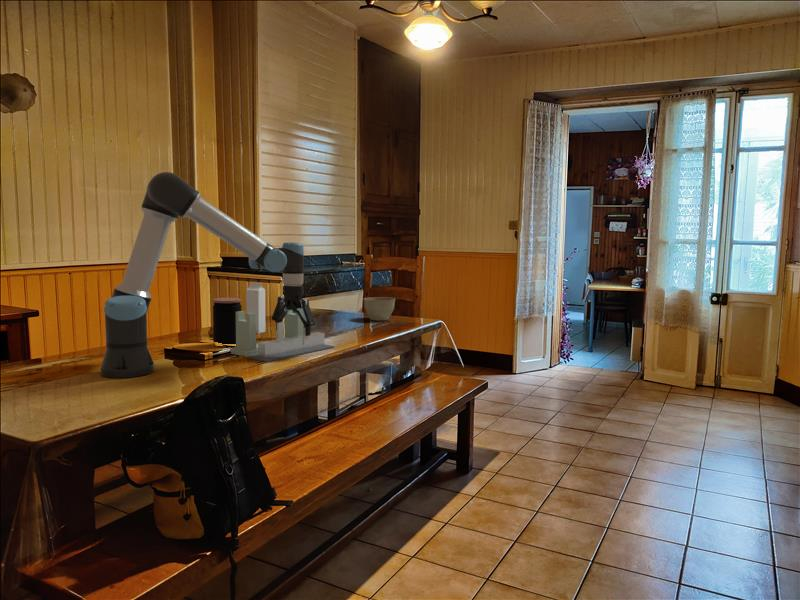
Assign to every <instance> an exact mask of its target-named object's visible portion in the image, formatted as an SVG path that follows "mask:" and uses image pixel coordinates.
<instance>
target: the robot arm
mask: <svg viewBox="0 0 800 600" xmlns="http://www.w3.org/2000/svg"><path fill="white" fill-rule="evenodd" d="M140 208H141V211H142V212H143V218H142V220H141V222H140V226H139V230H138V233H137V236H136V238H135V241H134V244H133V246H132V247H133V248H132V250H131V254H130V257H129V261H128V263H127V266H126V270H125V272H124V275H123V278H122V281H121V283H120V284H118V285H117V286H115V287H114V289H113V293H112V296H111V297H110V298H109V297H108V298H107V299H106V300H105V302H104V306H103V307H104V308H103V312H104V319H105V320H104V322H105V323H104V324H105V345H106V346H105V347H106V348H105V349H106V350H105V352H104V355H103V360H102V363H101V366H100V375H101V377H102V376H103V377H105V378H112V379H113V378H114V379H116V378H117V379H123V378H125V379H126V378H136V377H141V376H142V377H143V376H146V375H149V374H152V373H153V372H154V371H155V364H154V360H153V358H152V355H151V354H150V350H149V348H148V347H149V346H148V325H147V322H148V319H147V314H148V311H149V308H150V304H151V301H152V295H151V293H150V289H151V286H152V282H153V280H154V277H155V274H156V270H157V266H158V264H159V261H160V258H161V255H162V252H163V249H164V245H165V243H166V241H167V236H168V233H169V231H170V227H171V224H172V223H174V222H176V221H178V218H179V216H180V217H181V218H189V220H192V222H195V223H196V224H197V225H199V226H201V227H202V228H204V229H205V230H207V231H208V232H210V233H212V234H213V235H215V237H217V238H219V239H220V240H222V241H223V242H225V243H227V244H228V245H230V246H231V247H232V248H234V249H235V250H237V251H239V252H240V253H242V254H243V255H245V256H247V257H248V265H249V267H250V269H252V270H253V269H256V270H261V269H262V270H267V271H269V272H270V273H277V272H281V271H282V284H283V285H282V295H283V296H282V295H281V296H278V297H277V302H276V305H275V308H274V311H273V314H272V315H271V320H272V321H274V322H275V331H276V339H282V338H285V321H284V320H285V316H286V314H287V313H288V311H289V310H293V312H294V313H295V312H297V313H298V315H299V317H300V319H301V321H302V323H303V324H304V327H303V345H307V344H309V336H310V333H311V330H312V329H311V327H312V326H315V325H316V323H315V320H314V316H313V314H312V309H311V307H310V300H309V299H308V298H307V299H303V298H302V297H303V296H304V286H303V284H304V266H305V265H304V262H305V260H304V259H305V258H304V257H305V251H304V249H305V248H304V244H303V243H301V242H283V243H282V247H274V246H273V245H271V244H270V243H268V242H267V241H266V240H264V239H262V238H261V237H260V236H259V235H257V234H255V233H254V232H253V231H251V230H250V229H248V228H246V226H243V225H242V224H240V222H238V221H236V220H235V219H233V218H232V217H230V215H228V214H226V213H225V212H223V211H221V209H219V208H217V206H216V207H215V206H214V205H213V204H211V203H210V202H209V201H207V200H206V199H204V198H202V194H201V192H199V191H198V189H195V188H194V187H193V186H192V185H190V184H189V183H188V182H187V181H186V180H184V179H183V178H182V177H181V176H179V175H177V174H176V173H174V172H168V171H165V172H164V171H163V172H159V173H157V174H155V175H154V176H153V177H152V178H151V179H150V181H148V183H147V186H146V192H145V194H144V198H143V201H142V205H141V207H140Z"/></svg>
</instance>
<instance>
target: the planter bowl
mask: <svg viewBox="0 0 800 600" xmlns="http://www.w3.org/2000/svg"><path fill="white" fill-rule="evenodd" d="M363 303H364V304H363V305H364V310H365V312H366V314H367V315H368V317H369V319H370V320H371V321H388V320H389V318H390V316H392V313H393V312H394V309H395V303H396V298H394V297H385V296H383V297H382V296H379V297H376V296H374V297H364V298H363Z"/></svg>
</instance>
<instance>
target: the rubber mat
mask: <svg viewBox="0 0 800 600" xmlns="http://www.w3.org/2000/svg"><path fill="white" fill-rule="evenodd" d="M334 348H335V346H334V345H329V344H325V346H321V347H316V348H311V349H307V350H302V351H297V352H292V353H287V354H283V355H278V356H273V357H268V358H262V357H258V354H257V355H252V356H247V359H249V360H255V361H260V362H264V363H269V362H270V363H271V362H275V361H279V360H283V359H288V358H293V357H296V356H301V355H306V354H312V353H316V352H321V351H324V350H325V351H326V350H329V349H334Z"/></svg>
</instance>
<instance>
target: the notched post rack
mask: <svg viewBox="0 0 800 600" xmlns="http://www.w3.org/2000/svg"><path fill="white" fill-rule="evenodd" d="M303 327H304V324H303V323H302V321H301V319H300V317H299V315H298V313H297V312H295V311H293V310H289V311H288V313H287V314H286V316H285V317H284V338H288V337H293V336H299V335H303ZM231 348H232V349H230V348H229V349H230V351H231V353H230V354H231V355H237V356H240V357H241V356H242V357H246V358H248V356H252V355H257V354H258V343H257V334H256V313H247V312H246V311H244V310H242V311H239V312H236V348H235V347H231Z"/></svg>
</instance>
